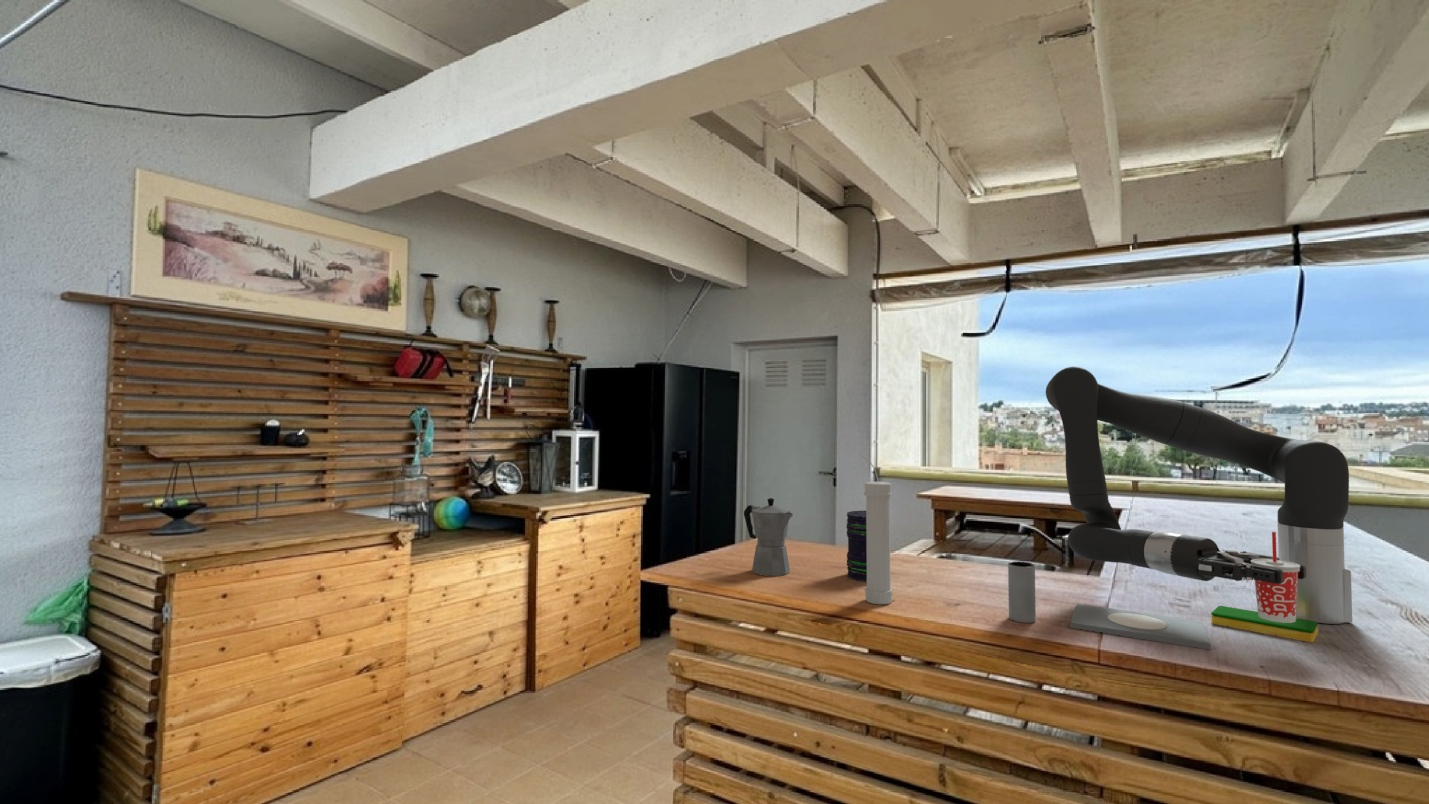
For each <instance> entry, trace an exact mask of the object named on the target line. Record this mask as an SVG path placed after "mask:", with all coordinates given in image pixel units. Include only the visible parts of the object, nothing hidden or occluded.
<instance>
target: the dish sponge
mask: <svg viewBox="0 0 1429 804" xmlns="http://www.w3.org/2000/svg"><path fill="white" fill-rule="evenodd" d="M1210 614H1211V615H1210V616H1211V617H1210V619H1211V621H1210V622H1211V624H1213V623H1214V624H1213V625H1217V624H1218V626H1224V627H1227V626H1229V627H1228V628H1234V629H1240V630H1243V629H1244V631H1250V632H1255V633H1259V632H1260V633H1261V634H1265V635H1272V636H1275V635H1277V636H1276V637H1282V638H1286V639H1291V638H1293V639H1292V640H1297V641H1303V642H1308V643H1314V642H1315V640H1316V639H1315V638H1317V637H1318V635H1319V634H1318V633H1319V630H1318V629H1319V625H1318V624H1319V623H1318V622H1315V621H1310V620H1304V619H1298V618H1296V622H1294V623H1281V622H1274V621H1269V620H1265V619H1262V618H1260V617H1259V616H1258V611H1255V610H1248V609H1244V608H1238V607H1232V606H1226V605H1218V606H1217V607H1216V608H1215V609H1214V610H1213V611H1211V613H1210ZM1260 633H1259V634H1260ZM1316 636H1317V637H1316Z"/></svg>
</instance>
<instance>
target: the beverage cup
mask: <svg viewBox="0 0 1429 804" xmlns="http://www.w3.org/2000/svg"><path fill="white" fill-rule="evenodd" d="M1271 537H1272V538H1271V540H1272V542H1271V544H1272V557H1273V560H1272V559H1253V560H1251V564H1252V566H1255V565H1256V566H1262V567H1268V568H1274V569H1279V570H1281V571H1282V572H1283V583H1281V584H1275V583H1269V582H1264V581H1259V580H1254V579H1253V581H1254V590H1255V597H1256V608H1257V612H1258V616H1259V617H1260V618H1262V619H1265V620H1269V621H1274V622H1281V623H1294V622H1296V605H1297V584H1298V572H1299V571H1300V569H1299V568H1300V565H1299V564H1296V563H1293V562H1288V561H1281V560H1277V558H1278V556H1277V554H1278V553H1277V532H1276V531H1271Z"/></svg>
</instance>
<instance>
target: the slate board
mask: <svg viewBox="0 0 1429 804" xmlns="http://www.w3.org/2000/svg"><path fill="white" fill-rule="evenodd" d="M1069 627H1070V628H1069V629H1074V630H1080V629H1083V630H1082V631H1087V630H1088V632H1093V631H1095V632H1094V633H1100V632H1102V633H1101V634H1106V633H1107V635H1113V636H1119V635H1121V636H1120V637H1126V638H1132V639H1139V640H1146V641H1152V642H1159V643H1164V644H1170V645H1171V644H1173V645H1177V646H1185V647H1191V648H1196V647H1197V649H1203V650H1209V651H1210V650H1212V649H1211V647H1212V646H1211V641H1210V637H1209V634H1208V631H1207V628H1206V625H1205V622H1204V620H1198V619H1192V618H1191V619H1190V618H1184V617H1177V616H1176V617H1175V616H1170V615H1162V614H1155V613H1147V612H1141V611H1140V612H1139V611H1133V610H1132V611H1131V610H1127V609H1126V610H1125V609H1117V608H1110V607H1104V606H1097V605H1087V604H1082V603H1076V605H1075V607H1074V610H1073V614H1072V616H1071V620H1070V623H1069Z"/></svg>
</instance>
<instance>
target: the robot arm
mask: <svg viewBox="0 0 1429 804" xmlns="http://www.w3.org/2000/svg"><path fill="white" fill-rule="evenodd" d="M1045 397H1046V400H1047V401H1048V404H1049V405H1050V406H1051V407H1052V408H1054V409H1055V410H1057V411H1058V413H1059V415H1060V419H1061V424H1062V427H1063V435H1064V442H1065V443H1064V445H1065V448H1064V450H1065V474H1066V483H1067V491H1068V495H1069V502H1070V504H1071V505H1070V506H1071V507H1072V509H1074V510H1076V511H1077V512H1081V513H1082V514H1083V516H1084V519H1085V521H1086V523H1081V524H1077V525H1075V526H1074V527H1072V528H1071V530H1070V531H1069V533H1068V534H1067V535H1068V536H1067V543H1068V545H1069V548H1070V549H1071V550H1072V552H1074V554H1075V555H1077V556H1078V557H1080V558H1083V559H1086V560H1090V561H1096V562H1104V563H1105V562H1107V563H1117V564H1118V563H1119V564H1128V565H1132V566H1135V567H1139V568H1145V569H1148V570H1155V571H1158V572H1161V573H1164V574H1168V575H1173V576H1178V577H1183V578H1188V579H1193V580H1198V581H1202V582H1208V581H1212V580H1214V578H1221V579H1227V580H1232V581H1233V580H1234V581H1236V582H1239V581H1240V582H1241V581H1243V580H1245V581H1249V582H1250V581H1254V580H1259V581H1264V582H1269V583H1275V584H1281V583H1283V572H1282V571H1281V570H1279V569H1274V568H1268V567H1262V566H1256V565H1255V566H1252V564H1251V560H1253V559H1272V560H1273V555H1272V556H1271V555H1266V554H1265V555H1264V554H1259V553H1256V552H1249V551H1246V550H1245V551H1244V550H1243V551H1240V552H1238V551H1237V550H1227V549H1226V550H1225V552H1224V551H1221V550H1220V549H1219V546H1218V544H1217V543H1216V542H1215V541H1214V540H1213V539H1211V538H1209V537H1208V538H1207V537H1200V536H1194V535H1188V534H1180V533H1175V532H1174V533H1173V532H1159V531H1158V532H1157V531H1152V530H1151V531H1150V530H1144V529H1135V528H1134V529H1133V528H1129V529H1122V527H1121V526H1120V523H1119V521H1118V518H1117V515H1116V514H1115V512H1114V509H1113V506H1112V505H1111V503H1110V501H1109V494H1108V486H1107V481H1106V474H1105V470H1104V463H1103V457H1102V451H1101V446H1100V439H1099V428H1098V427H1099V426H1098V425H1099V423H1098V422H1102V423H1103V422H1104V423H1106V424H1109V425H1113V426H1114V427H1115V426H1116V427H1118V428H1121V429H1122V430H1126V431H1128V432H1130V433H1132V434H1136V435H1138V436H1140V437H1144V438H1147V439H1149V440H1152V441H1153V442H1157V443H1160V444H1162V445H1165V446H1168V447H1172V448H1175V449H1178V450H1181V451H1185V452H1189V453H1192V454H1194V455H1200V456H1203V457H1206V458H1207V457H1208V458H1211V459H1216V460H1223V461H1226V462H1232V463H1235V464H1238V465H1241V466H1244V467H1246V468H1249V469H1252V470H1254V471H1257V472H1259V473H1262V474H1264V475H1266V476H1268V477H1270V478H1272V479H1276V480H1278V481H1280V482H1282V483H1284V496H1283V498H1284V499H1283V503H1282V505H1281V506H1280V507H1279V508H1278V509H1277V549H1278V550H1277V552H1278V553H1277V554H1278V556H1277V560H1281V561H1288V562H1293V563H1296V564H1299V565H1300V568H1299V569H1300V571H1299V572H1298V584H1297V605H1296V618H1298V619H1304V620H1310V621H1315V622H1318V624H1321V623H1322V624H1330V625H1331V624H1333V625H1337V624H1339V625H1340V624H1345V623H1351V624H1352V623H1353V597H1352V593H1353V592H1352V571H1351V570H1350V569H1348V568H1346V567H1345V565H1346V564H1345V537H1344V536H1345V534H1344V530H1345V529H1344V527H1345V526H1344V522H1345V518H1346V516H1347V513H1348V510H1349V497H1350V470H1349V465H1348V461H1347V458H1346V456H1345V455H1344V453H1343V452H1342V451H1341V450H1340V449H1339V448H1338V447H1336V446H1335V445H1333V444H1330V443H1328V442H1323V441H1317V440H1316V441H1315V440H1305V439H1295V438H1290V437H1284V436H1280V435H1275V434H1270V433H1268V432H1263V431H1259V430H1256V429H1252V428H1250V427H1247V426H1244V425H1242V424H1241V423H1238V422H1236V421H1234V420H1232V419H1230V418H1228V417H1225V416H1223V415H1221V414H1219V413H1216V412H1214V411H1211V410H1209V409H1206V408H1204V407H1200V406H1197V405H1195V404H1191V403H1188V402H1183V401H1180V400H1177V399H1172V398H1167V397H1162V396H1154V395H1148V394H1138V393H1131V392H1130V393H1129V392H1125V391H1120V390H1118V389H1115V388H1112V387H1108V386H1106V385H1103V384H1100V383H1098V381H1097V379H1096V377H1095V375H1094V374H1093V373H1092V372H1090V371H1089V370H1087V369H1086V368H1083V367H1082V366H1081V367H1080V366H1068V367H1065V368H1062V369H1061V370H1059V371H1057V372H1056V373H1055V375H1053V376H1052V377H1051V379H1050V380H1049V382H1048V383H1047V385H1046V388H1045Z"/></svg>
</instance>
